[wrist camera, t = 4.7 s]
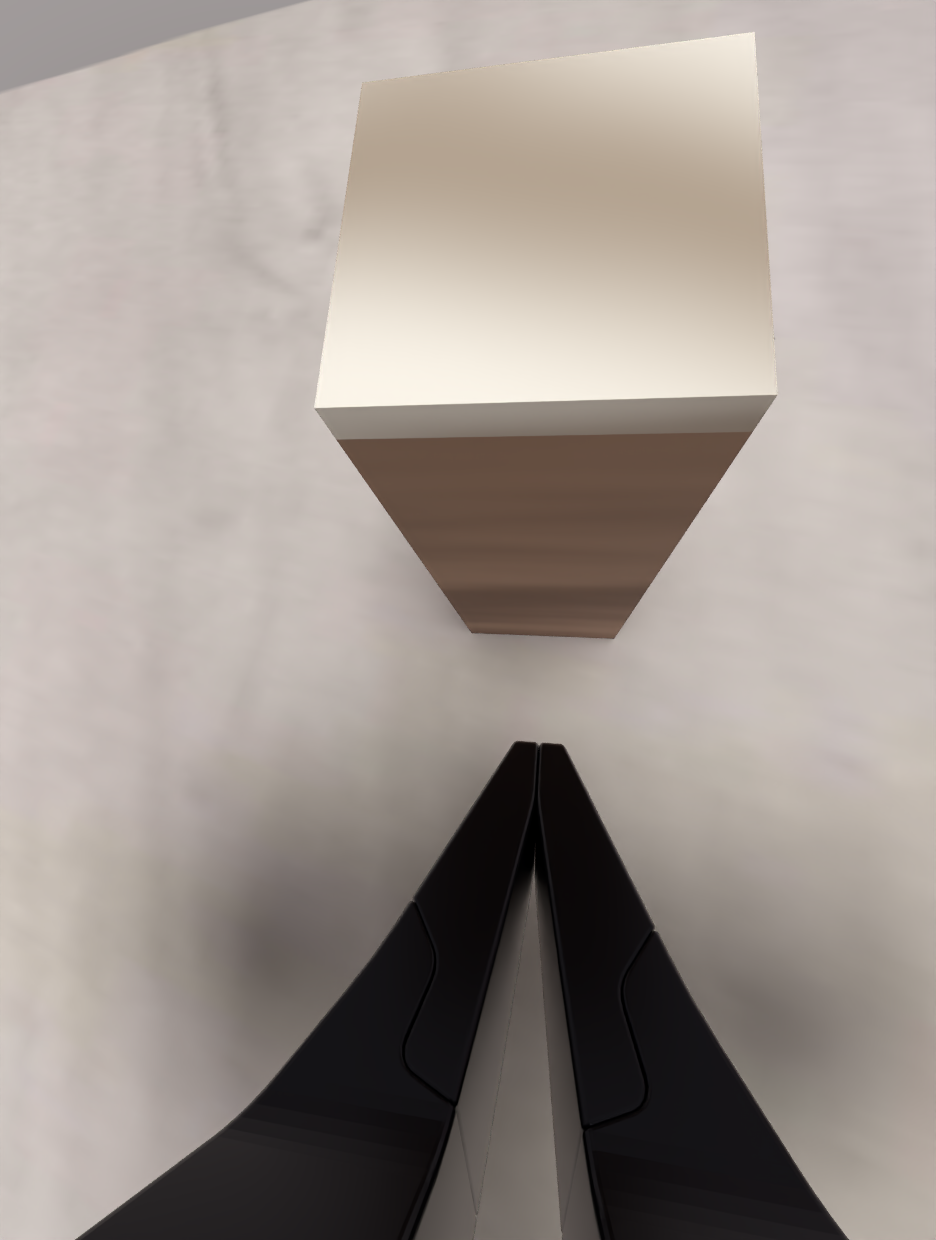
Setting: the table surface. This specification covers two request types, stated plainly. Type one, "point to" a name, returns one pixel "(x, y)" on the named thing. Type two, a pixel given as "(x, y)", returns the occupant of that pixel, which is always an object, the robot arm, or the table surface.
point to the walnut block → (553, 319)
